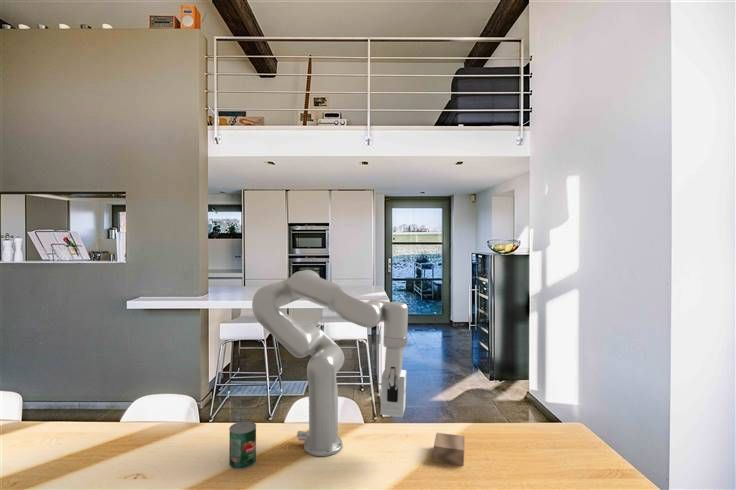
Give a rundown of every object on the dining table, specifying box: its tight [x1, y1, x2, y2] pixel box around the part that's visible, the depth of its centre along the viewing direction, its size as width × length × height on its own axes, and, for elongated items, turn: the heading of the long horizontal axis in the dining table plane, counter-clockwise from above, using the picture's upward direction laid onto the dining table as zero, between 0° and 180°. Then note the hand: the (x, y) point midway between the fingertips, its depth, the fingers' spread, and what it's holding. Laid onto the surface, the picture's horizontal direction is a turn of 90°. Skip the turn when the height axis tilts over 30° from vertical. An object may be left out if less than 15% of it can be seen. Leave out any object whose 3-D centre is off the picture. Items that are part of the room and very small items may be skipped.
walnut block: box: [433, 432, 465, 467], centre depth 125 cm, size 9×9×5 cm
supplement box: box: [379, 369, 407, 418], centre depth 126 cm, size 7×7×13 cm
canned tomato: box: [228, 420, 257, 471], centre depth 121 cm, size 8×8×11 cm
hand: (393, 396), depth 126 cm, fingers closed on supplement box, 7 cm apart
